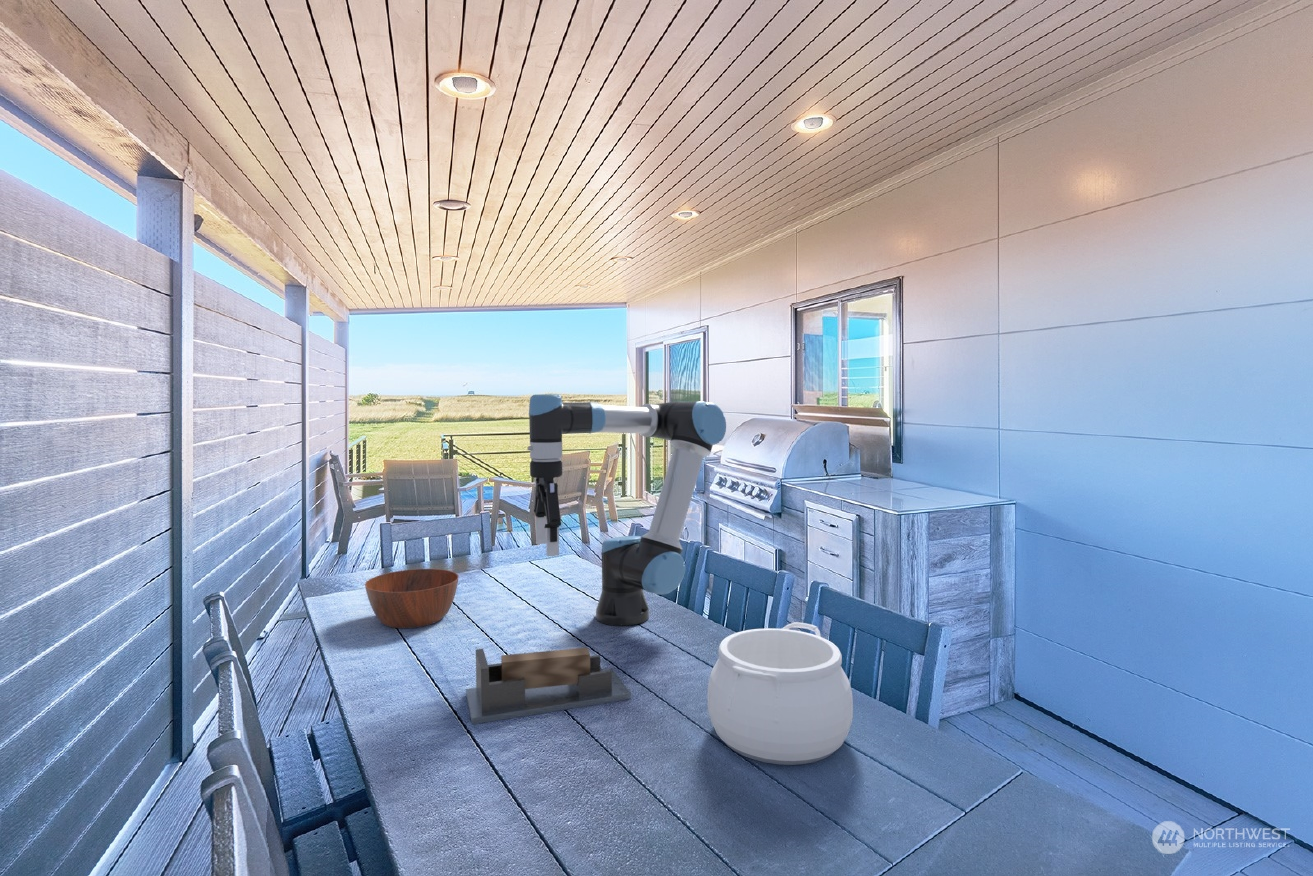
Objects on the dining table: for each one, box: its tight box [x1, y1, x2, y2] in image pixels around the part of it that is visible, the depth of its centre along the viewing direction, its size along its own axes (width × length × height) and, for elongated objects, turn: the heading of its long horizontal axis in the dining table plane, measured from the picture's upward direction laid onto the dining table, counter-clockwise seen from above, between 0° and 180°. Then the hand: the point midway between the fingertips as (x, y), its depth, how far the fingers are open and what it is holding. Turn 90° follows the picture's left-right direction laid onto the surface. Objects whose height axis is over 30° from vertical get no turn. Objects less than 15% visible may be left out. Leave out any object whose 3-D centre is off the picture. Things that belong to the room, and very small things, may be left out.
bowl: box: [364, 568, 460, 629], centre depth 192 cm, size 25×25×11 cm
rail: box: [500, 647, 591, 689], centre depth 142 cm, size 18×4×6 cm, turn 104°
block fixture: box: [465, 648, 632, 725], centre depth 142 cm, size 32×14×10 cm, turn 110°
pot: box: [706, 621, 854, 766], centre depth 125 cm, size 29×26×17 cm
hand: (547, 549), depth 161 cm, fingers open, 13 cm apart
